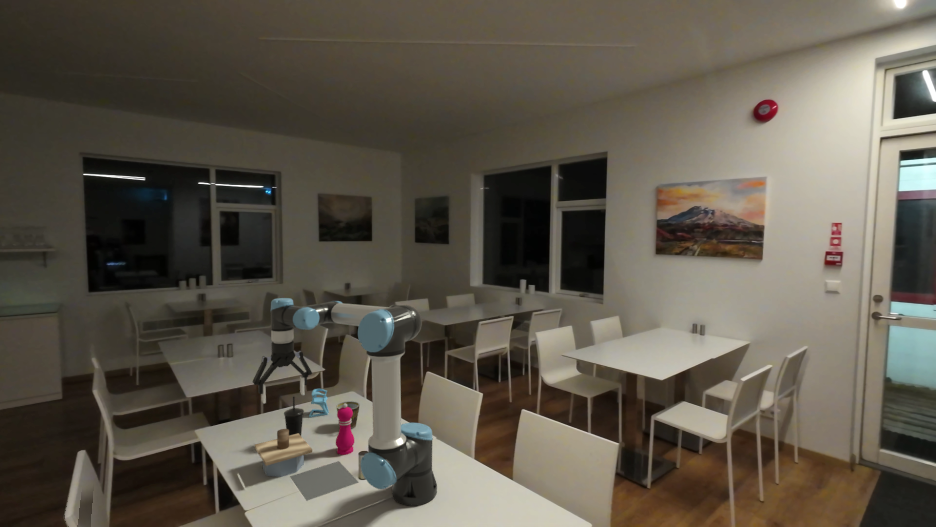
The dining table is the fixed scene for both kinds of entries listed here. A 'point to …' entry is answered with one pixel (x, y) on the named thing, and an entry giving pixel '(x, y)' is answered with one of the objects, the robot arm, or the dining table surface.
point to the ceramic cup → (355, 409)
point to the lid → (282, 447)
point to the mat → (323, 480)
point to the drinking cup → (294, 419)
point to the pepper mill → (345, 431)
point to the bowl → (284, 467)
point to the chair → (319, 402)
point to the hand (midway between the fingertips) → (283, 398)
